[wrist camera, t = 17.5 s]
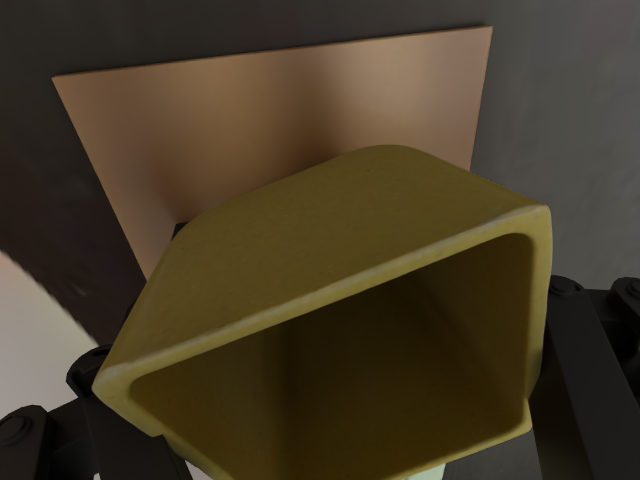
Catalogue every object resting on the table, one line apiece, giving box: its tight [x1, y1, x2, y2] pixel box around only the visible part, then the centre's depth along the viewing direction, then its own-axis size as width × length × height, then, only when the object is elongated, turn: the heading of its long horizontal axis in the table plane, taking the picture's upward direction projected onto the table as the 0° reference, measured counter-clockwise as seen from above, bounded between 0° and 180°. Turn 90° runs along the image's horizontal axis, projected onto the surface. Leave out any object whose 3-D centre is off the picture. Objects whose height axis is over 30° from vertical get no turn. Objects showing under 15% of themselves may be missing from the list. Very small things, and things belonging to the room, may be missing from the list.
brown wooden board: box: [52, 25, 493, 281], centre depth 16 cm, size 15×14×1 cm
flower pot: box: [92, 145, 553, 480], centre depth 12 cm, size 9×9×9 cm
